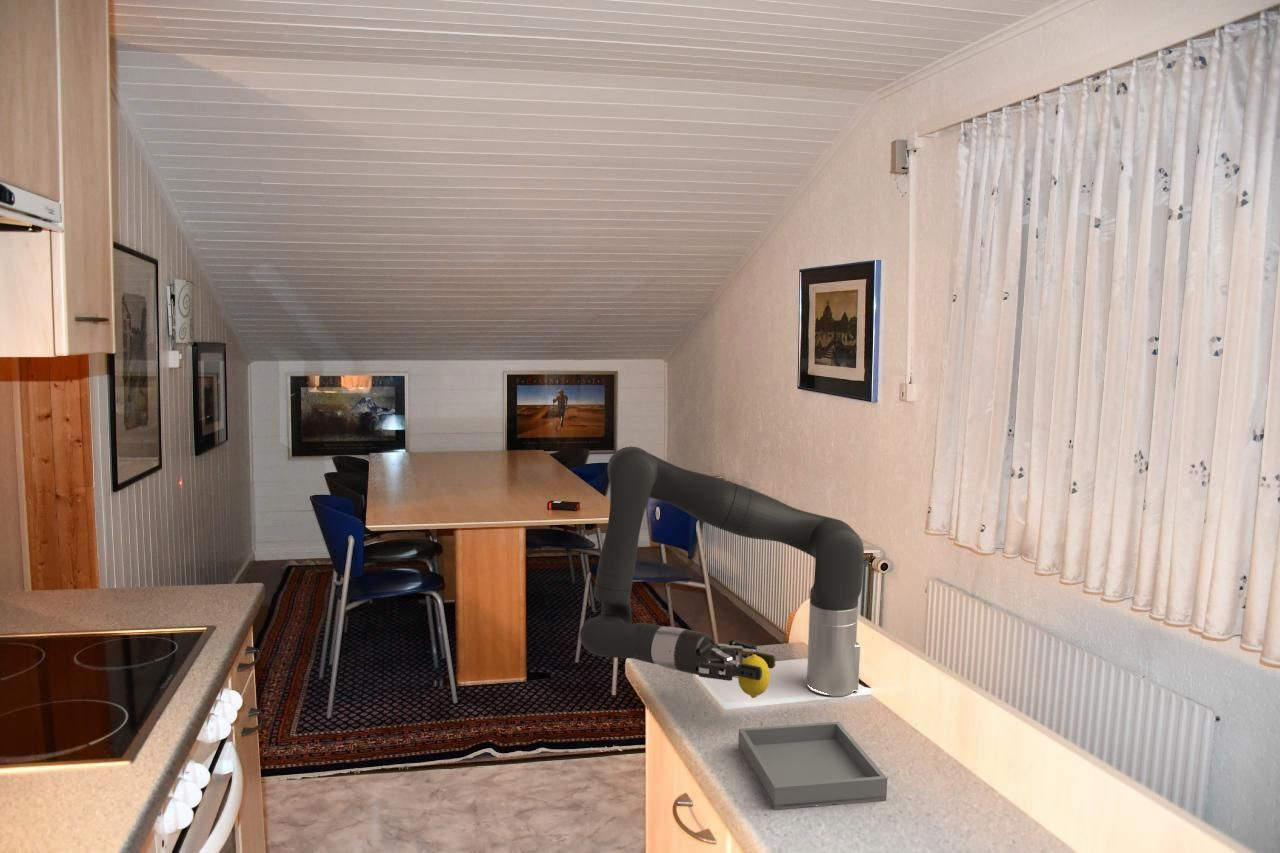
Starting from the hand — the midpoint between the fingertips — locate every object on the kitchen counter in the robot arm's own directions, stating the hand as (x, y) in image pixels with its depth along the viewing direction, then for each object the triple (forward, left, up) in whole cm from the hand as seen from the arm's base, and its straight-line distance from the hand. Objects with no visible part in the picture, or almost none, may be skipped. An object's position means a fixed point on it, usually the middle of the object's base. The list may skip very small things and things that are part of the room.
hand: (767, 668), depth 172 cm
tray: (-3, +14, -12) cm, 19 cm away
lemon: (+2, -2, -6) cm, 7 cm away
